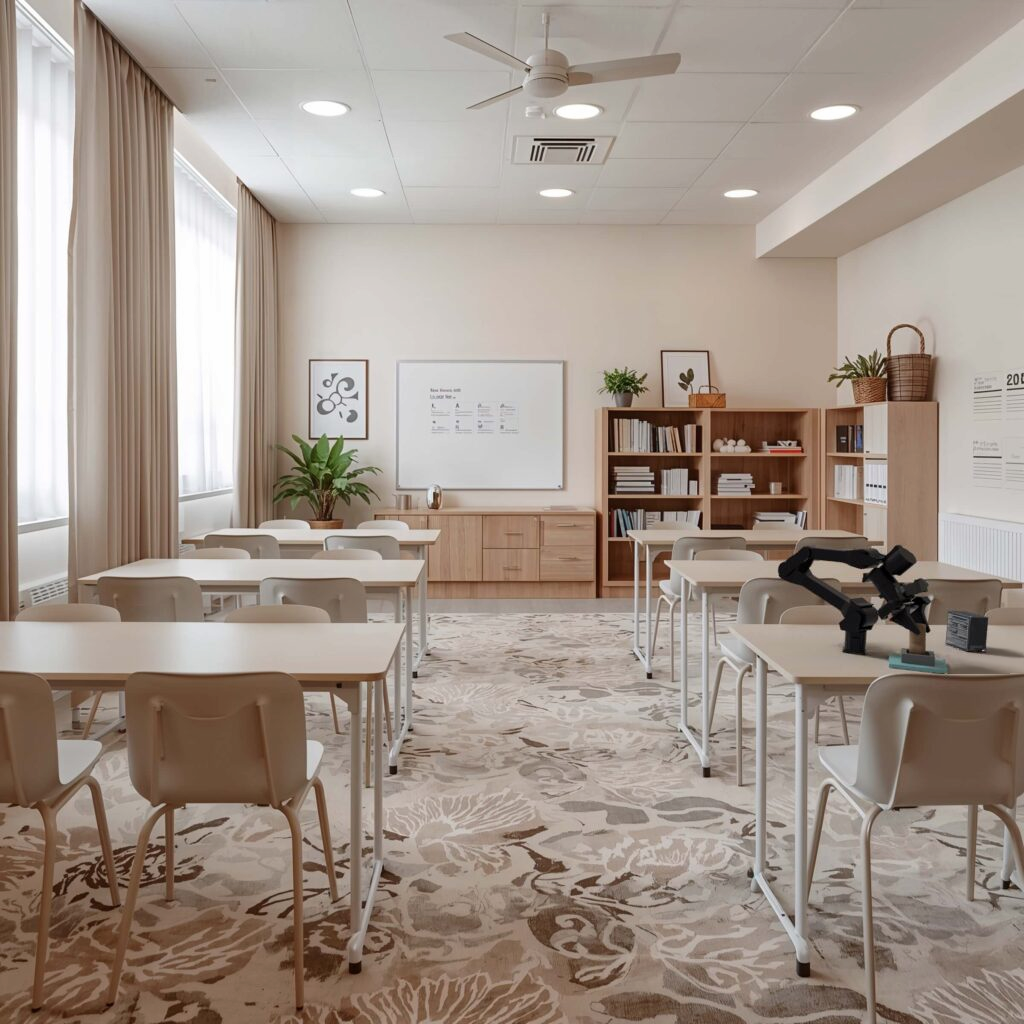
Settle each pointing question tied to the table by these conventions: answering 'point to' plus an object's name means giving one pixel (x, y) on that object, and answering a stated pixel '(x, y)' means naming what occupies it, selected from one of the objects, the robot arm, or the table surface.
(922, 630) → the peg
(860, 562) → the robot arm
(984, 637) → the small box
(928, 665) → the docking socket
